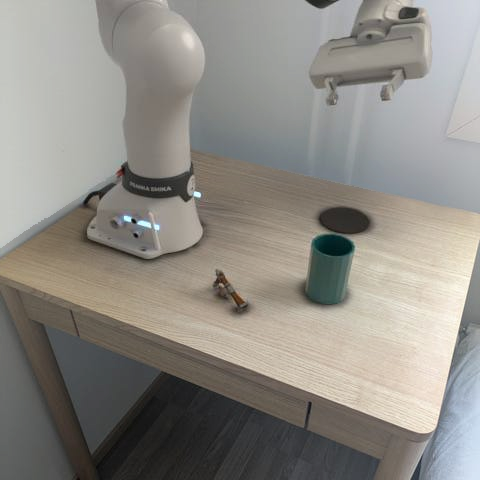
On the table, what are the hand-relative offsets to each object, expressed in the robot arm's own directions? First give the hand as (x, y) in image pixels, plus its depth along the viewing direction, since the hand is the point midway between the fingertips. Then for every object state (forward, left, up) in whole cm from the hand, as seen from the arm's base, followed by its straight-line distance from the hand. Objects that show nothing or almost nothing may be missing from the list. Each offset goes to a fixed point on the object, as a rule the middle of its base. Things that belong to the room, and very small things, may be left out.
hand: (357, 100), depth 81 cm
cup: (+1, -19, -25) cm, 32 cm away
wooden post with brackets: (-14, -27, -26) cm, 40 cm away
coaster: (+1, +5, -25) cm, 26 cm away
